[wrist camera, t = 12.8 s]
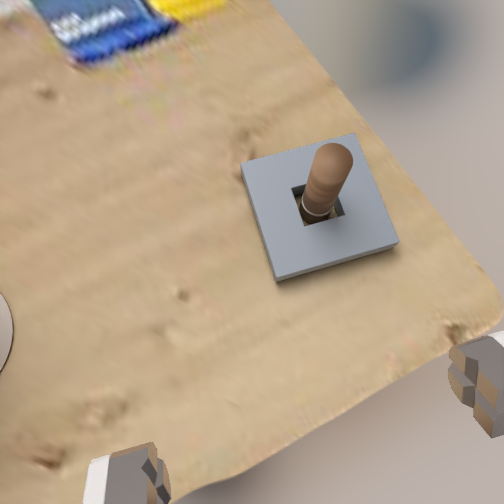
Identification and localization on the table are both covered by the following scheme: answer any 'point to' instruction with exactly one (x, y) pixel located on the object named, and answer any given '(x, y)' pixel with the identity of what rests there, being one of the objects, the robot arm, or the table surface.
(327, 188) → the peg
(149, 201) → the table surface
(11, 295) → the table surface
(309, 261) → the socket board
